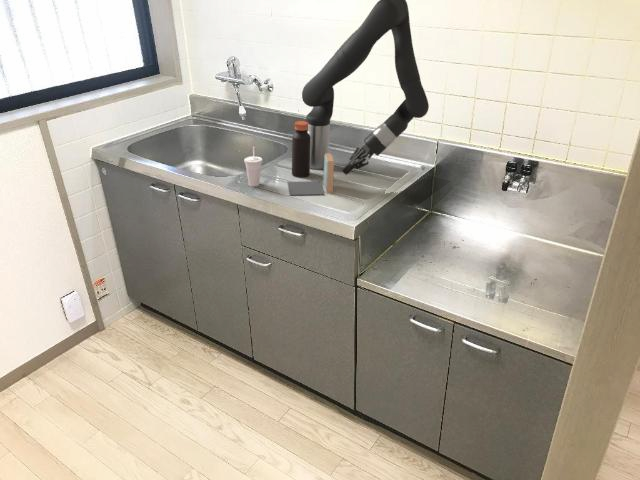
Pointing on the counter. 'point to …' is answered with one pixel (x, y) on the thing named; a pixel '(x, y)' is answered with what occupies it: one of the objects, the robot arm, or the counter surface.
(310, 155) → the robot arm
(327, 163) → the tile
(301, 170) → the bottle
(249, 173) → the smoothie
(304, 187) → the mat
